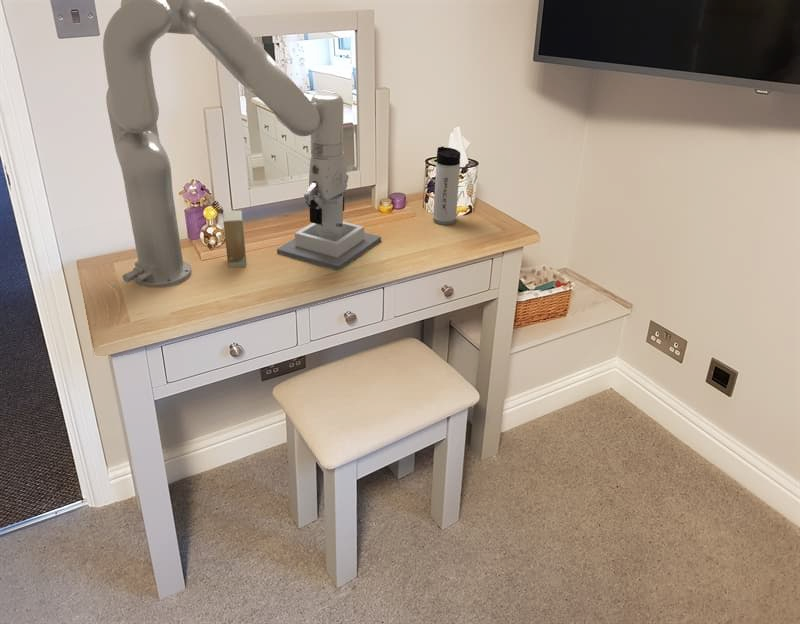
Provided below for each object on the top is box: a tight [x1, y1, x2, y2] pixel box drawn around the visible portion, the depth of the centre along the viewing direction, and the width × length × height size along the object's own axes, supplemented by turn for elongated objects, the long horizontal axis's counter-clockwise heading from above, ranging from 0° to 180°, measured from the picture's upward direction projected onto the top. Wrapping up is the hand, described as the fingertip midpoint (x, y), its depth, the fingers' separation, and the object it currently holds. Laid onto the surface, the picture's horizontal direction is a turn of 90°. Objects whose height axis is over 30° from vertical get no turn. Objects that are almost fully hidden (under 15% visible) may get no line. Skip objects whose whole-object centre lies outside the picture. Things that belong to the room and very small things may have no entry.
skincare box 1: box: [222, 210, 248, 269], centre depth 162 cm, size 6×4×12 cm
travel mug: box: [432, 146, 461, 226], centre depth 186 cm, size 6×7×20 cm
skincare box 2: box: [319, 194, 344, 241], centre depth 171 cm, size 6×4×12 cm
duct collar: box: [276, 221, 382, 271], centre depth 173 cm, size 20×18×5 cm
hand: (327, 216), depth 170 cm, fingers open, 9 cm apart
